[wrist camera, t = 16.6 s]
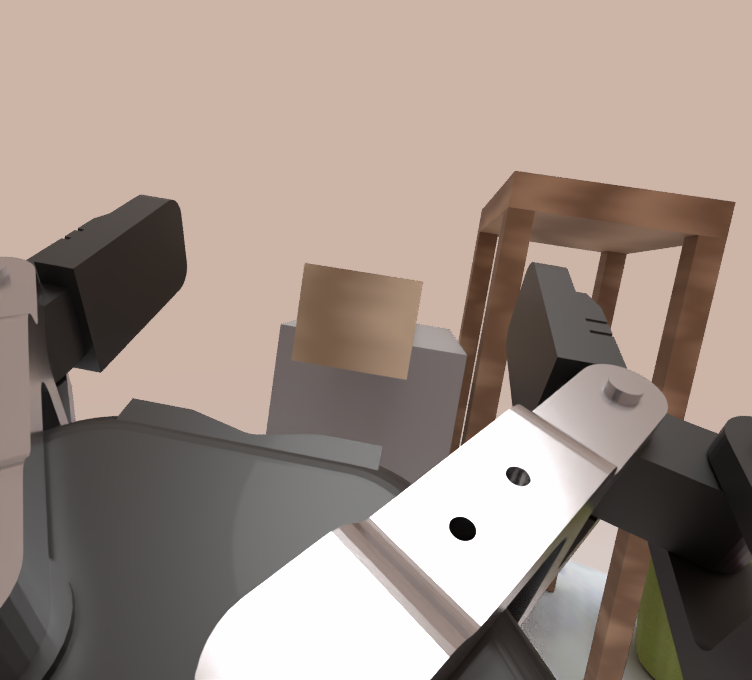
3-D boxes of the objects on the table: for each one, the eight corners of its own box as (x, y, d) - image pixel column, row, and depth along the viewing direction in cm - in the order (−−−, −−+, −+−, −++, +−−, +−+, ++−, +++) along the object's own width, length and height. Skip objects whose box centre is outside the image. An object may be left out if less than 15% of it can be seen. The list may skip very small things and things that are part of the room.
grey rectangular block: (226, 729, 27) (281, 324, 24) (291, 578, 41) (330, 309, 38) (392, 767, 26) (467, 355, 24) (401, 600, 40) (449, 329, 38)
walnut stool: (420, 683, 32) (515, 169, 28) (419, 557, 47) (482, 208, 43) (611, 723, 31) (736, 200, 28) (549, 582, 46) (624, 229, 42)
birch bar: (291, 360, 16) (304, 262, 15) (367, 314, 39) (373, 276, 39) (406, 379, 15) (422, 281, 15) (413, 322, 39) (420, 283, 39)
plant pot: (743, 782, 29) (793, 600, 27) (571, 639, 39) (602, 501, 37) (825, 717, 35) (869, 566, 34) (658, 608, 45) (687, 488, 44)
